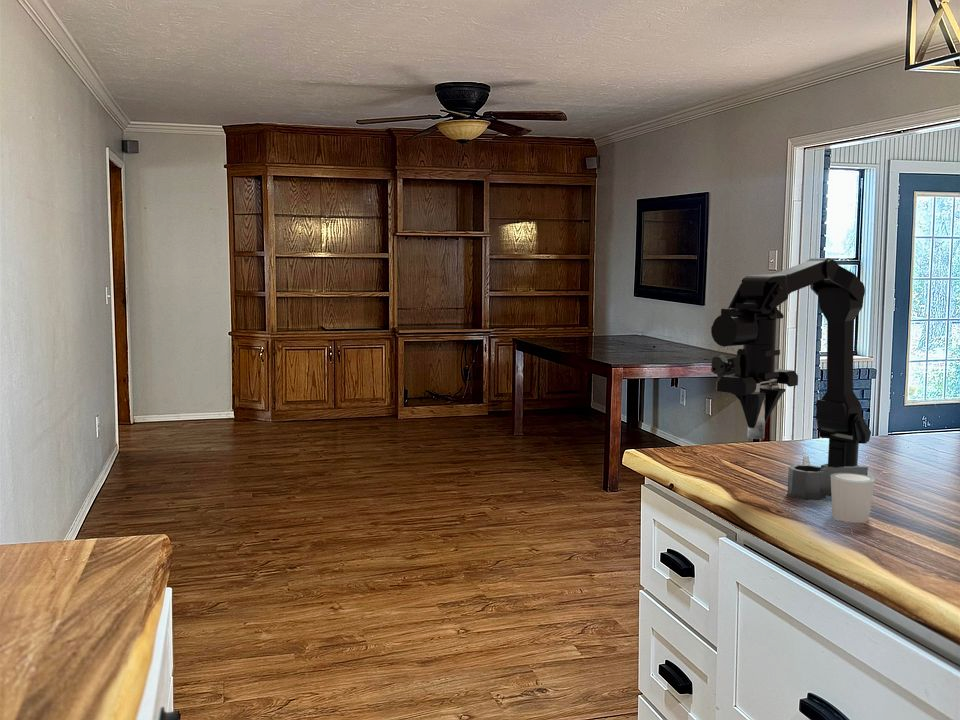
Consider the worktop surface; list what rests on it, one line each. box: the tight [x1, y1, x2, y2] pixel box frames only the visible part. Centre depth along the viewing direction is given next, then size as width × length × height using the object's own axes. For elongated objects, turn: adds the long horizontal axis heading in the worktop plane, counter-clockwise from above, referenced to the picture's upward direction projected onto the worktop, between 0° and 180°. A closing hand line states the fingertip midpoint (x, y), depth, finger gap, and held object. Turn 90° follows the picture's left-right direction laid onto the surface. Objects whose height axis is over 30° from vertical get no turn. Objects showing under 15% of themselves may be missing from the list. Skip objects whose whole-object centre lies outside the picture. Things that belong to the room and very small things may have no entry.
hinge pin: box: [746, 395, 766, 440], centre depth 164 cm, size 3×3×8 cm
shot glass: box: [830, 473, 876, 524], centre depth 146 cm, size 7×7×7 cm
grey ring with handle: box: [787, 455, 869, 501], centre depth 163 cm, size 14×13×5 cm
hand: (756, 426), depth 164 cm, fingers closed on hinge pin, 3 cm apart
